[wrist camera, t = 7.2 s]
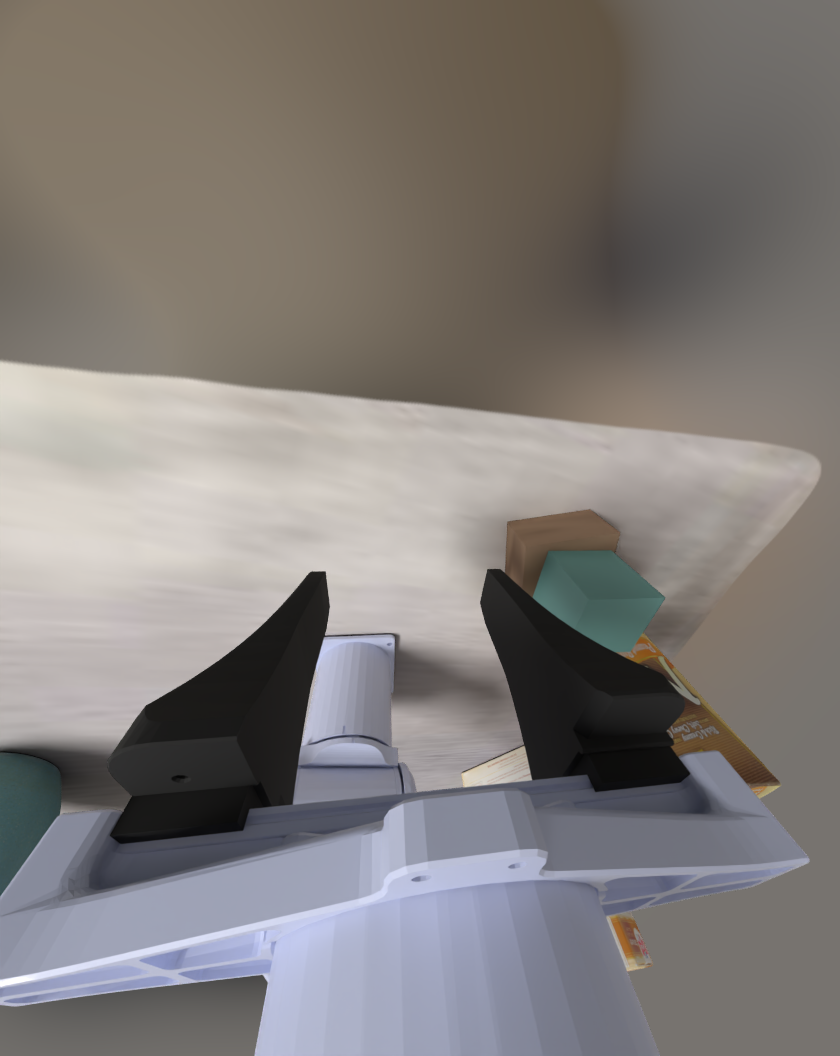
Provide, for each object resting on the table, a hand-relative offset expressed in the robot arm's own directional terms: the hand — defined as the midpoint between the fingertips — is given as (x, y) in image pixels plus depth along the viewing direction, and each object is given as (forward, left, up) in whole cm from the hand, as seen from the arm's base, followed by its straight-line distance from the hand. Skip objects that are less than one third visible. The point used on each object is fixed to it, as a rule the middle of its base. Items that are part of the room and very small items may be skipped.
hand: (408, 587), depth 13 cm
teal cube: (-5, -13, -7) cm, 16 cm away
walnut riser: (-5, -13, -11) cm, 18 cm away
